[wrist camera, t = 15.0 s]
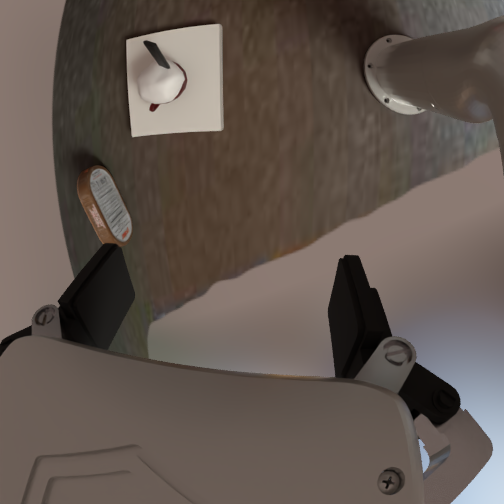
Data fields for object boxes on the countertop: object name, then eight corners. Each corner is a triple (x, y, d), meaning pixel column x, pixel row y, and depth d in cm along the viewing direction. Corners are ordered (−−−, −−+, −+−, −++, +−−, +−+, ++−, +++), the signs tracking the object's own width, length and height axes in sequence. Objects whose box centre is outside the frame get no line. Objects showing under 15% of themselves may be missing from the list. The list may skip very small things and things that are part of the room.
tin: (95, 163, 43) (67, 180, 36) (107, 157, 42) (79, 173, 35) (128, 233, 50) (108, 259, 43) (141, 230, 49) (121, 256, 42)
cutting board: (222, 26, 29) (219, 23, 28) (223, 128, 38) (221, 130, 37) (132, 40, 30) (126, 39, 29) (137, 134, 39) (132, 136, 38)
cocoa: (165, 114, 36) (125, 134, 26) (138, 86, 33) (91, 99, 24) (213, 70, 32) (184, 72, 22) (184, 41, 29) (145, 34, 20)
